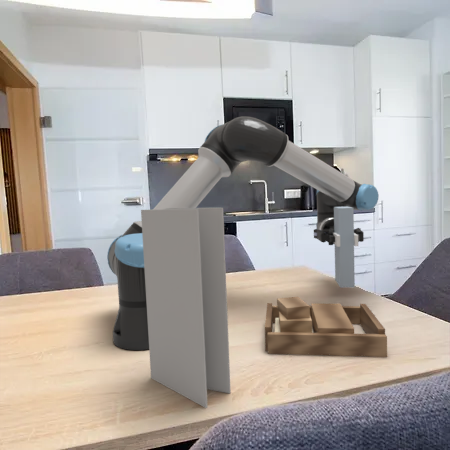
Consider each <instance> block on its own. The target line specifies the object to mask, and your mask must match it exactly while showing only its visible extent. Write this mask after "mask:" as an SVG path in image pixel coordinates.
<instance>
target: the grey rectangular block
mask: <svg viewBox="0 0 450 450" xmlns="http://www.w3.org/2000/svg"><path fill="white" fill-rule="evenodd" d="M354 211H355V210H353V208H352V207H348V206H346V207H334V233H337V234H339V235H340V247H337V246H336V245H335V244H334V278H335V282H336V283H337V284H338V286H339V288H342V289H343V288H355V284H356V283H355V281H356V279H355V278H356V277H355V246H354V229H355V228H354V227H355V223H354V222H355V221H354V220H355V217H354V216H355V215H354Z"/></svg>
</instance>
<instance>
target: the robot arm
mask: <svg viewBox="0 0 450 450" xmlns="http://www.w3.org/2000/svg"><path fill="white" fill-rule="evenodd" d="M197 152H198V156H197V159H195V161H194V162H193V163H192V164H191V165H190V167H188V168H187V170H186V171H185V172H184V173H183V175H181V177H180V178H179V179H178V180H177V181H176V182H175V183H174V185H173V186H172V187H171V188H170V189H169V190H168V191H167V193H166V194H165V195H164V196H163V197H162V199H160V200H159V202H158V203H157V204H156V205H155V206H154V207H153V209H166V208H198V206H199V205H200V204H201V203H202V201H203V200H204V199H205V198H206V197H207V195H208V194H209V193H210V192H211V191H212V189H213V188H214V187H215V185H216V184H217V183H219V181H220V180H221V178H228V177H230V176H231V175H232V174H233V172H234V171H235V170H236V169H237V168H238V167H239V165H240V164H242V163H243V162H248V161H251V162H257V163H260V164H263V165H264V166H266V167H273V166H274V167H276V168H278V169H279V170H281V171H283V172H285V173H287V174H288V175H291V176H292V177H294V178H295V179H298V180H299V181H301V182H303V183H305V184H307V185H308V186H310V187H312V189H313V188H314V189H315V190H316V193H315V194H316V209H317V210H316V213H317V217H316V220H317V221H316V226H315V227H316V228H315V229H313V239H317V240H318V241H320V242H321V243H326V242H327V243H328V246H333V245H334V246H335V245H336V246H337V247H340V235H339V234H337V233H334V207H346V206H348V207H352V208H353V211H361V212H362V211H369V210H372V209H374V208H375V207H376V205H377V204H378V201H379V191H378V189H377V187H376V186H374V185H373V184H367V183H362V184H361V183H359V182H357V181H355V180H353V179H352V178H350V177H349V176H347V175H345V173H343V172H341V171H339V170H338V169H336V168H334V167H332V166H331V165H329V164H327V163H326V162H325V161H323V160H322V159H319V158H318V157H316V156H315V155H313V154H312V153H310V152H308V151H307V150H305V149H303V148H302V147H300V146H298V145H297V144H295V143H294V142H292V141H291V140H289V136H288V134H286V133H285V132H283V131H282V130H280V129H278V128H277V127H275V126H273V125H272V124H270V123H268V122H266V121H263V120H261V119H258V118H257V117H253V116H238V117H235V118H233V119H231V120H230V121H227V122H225V123H223V124H220V125H217V126H215V127H214V128H213V129H211V130H210V131H209V133H207V135H206V137H205V139H204V142H203V143H202V145H201V146H200V147H199V148H198V150H197ZM361 229H362V228H360V227H357V228H354V247H359V242H364V241H365V240H364V239H365V238H364V236H365V235H364V231H363V230H361ZM106 260H107V264H108V266H109V269H110V270H111V272H112V273H113V274H114V275H116V276H115V277H116V278H117V291H118V293H117V294H118V311H117V314H116V317H115V322H114V326H113V330H112V339H113V340H112V341H113V343H114V345H115V346H116V347H117V348H121V349H124V350H131V351H139V350H140V351H142V350H143V351H144V350H149V336H148V319H147V302H146V286H145V269H144V252H143V235H142V220H140V221H139V220H138V221H134V222H133V223H132V224H131V225H130V226H129V227H128V228H127V229H126V231H124V233H123V234H121V235H119V236H117V237H116V238H115V239H114V240H113V241H112V242H111V244H110V245H109V247H108V251H107V259H106Z"/></svg>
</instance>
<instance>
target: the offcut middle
mask: <svg viewBox="0 0 450 450" xmlns="http://www.w3.org/2000/svg"><path fill="white" fill-rule="evenodd" d="M279 324H280V332H294V333H312V330H313V327H312V319H311V317H308V318H299V319H290V320H287V319H286V318H285V317H284V316H283V315H282V314H281V313H280V312H279Z"/></svg>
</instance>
